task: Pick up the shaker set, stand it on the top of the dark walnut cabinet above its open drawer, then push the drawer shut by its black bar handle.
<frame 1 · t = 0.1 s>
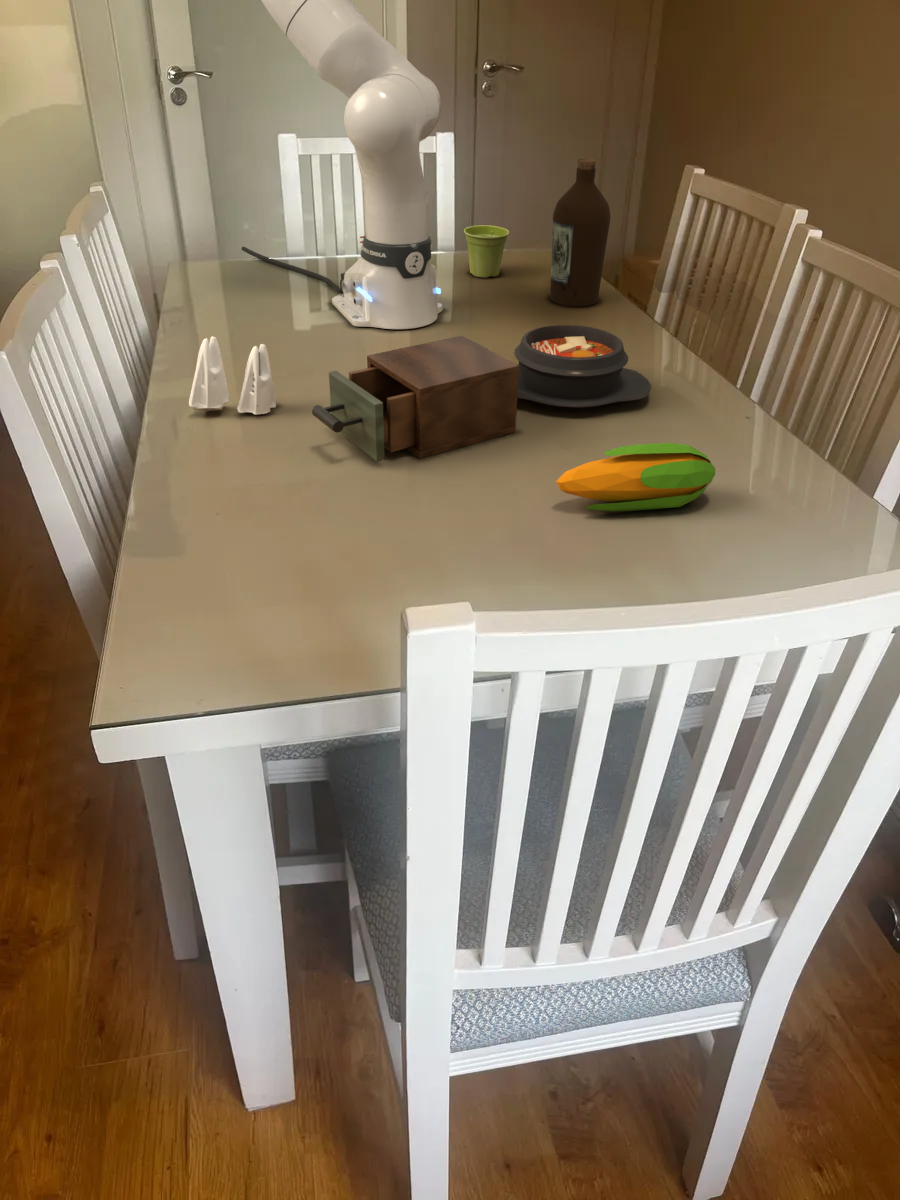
corn: (632, 505, 112), on the table
casserole: (567, 395, 140), on the table
plant pot: (484, 275, 192), on the table
cabinet: (441, 427, 130), on the table
drawer: (385, 408, 123), point 5 cm above the table, slide at 5.0 cm
olive oil: (573, 300, 179), on the table
shaker set: (234, 413, 133), on the table
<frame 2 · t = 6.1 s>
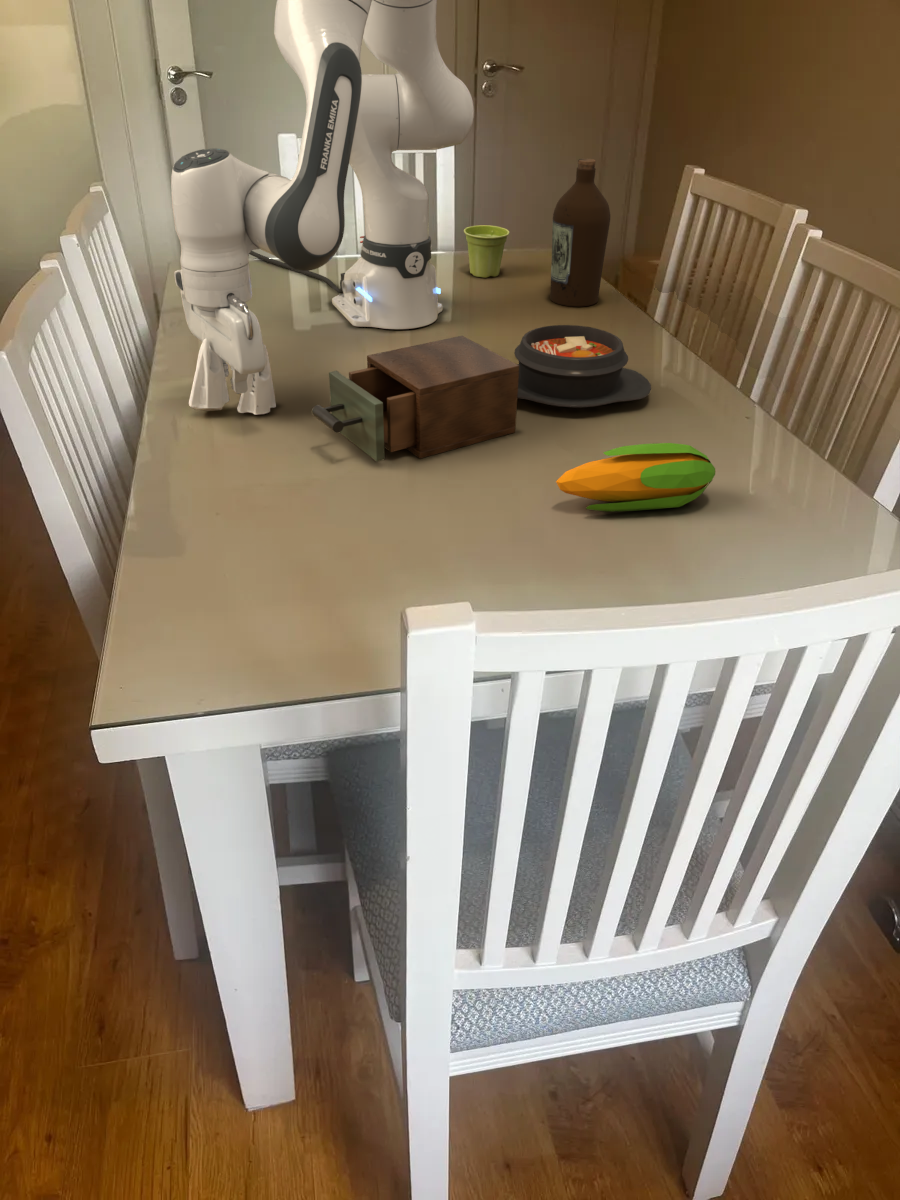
hand: (230, 383, 130), 4 cm above the table, tool pointing down, fingers closed on shaker set, 5 cm apart
shaker set: (234, 413, 133), on the table, touching gripper
everything else where it was.
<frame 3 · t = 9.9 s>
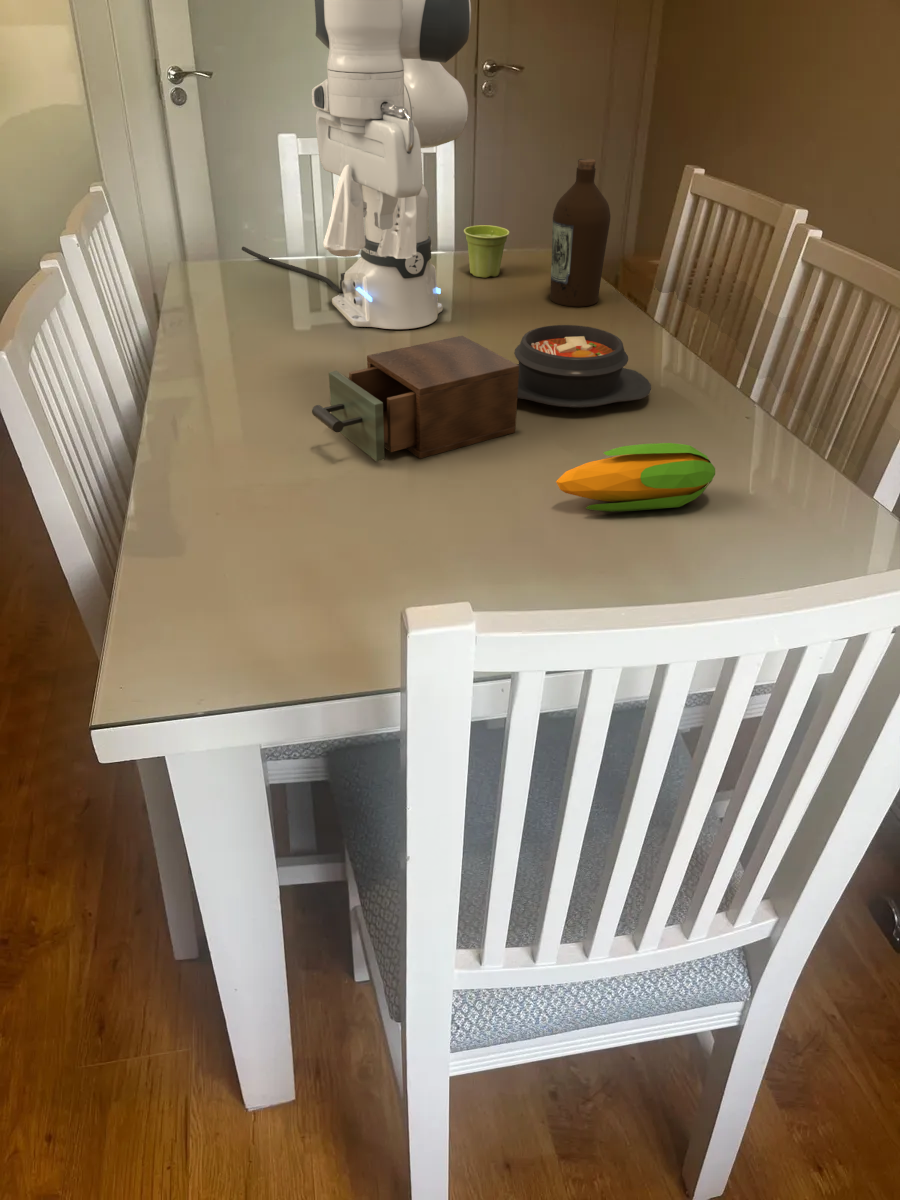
hand: (370, 222, 115), 27 cm above the table, tool pointing down, fingers closed on shaker set, 5 cm apart
shaker set: (371, 259, 117), point 23 cm above the table, touching gripper
everything else where it was.
when the fingers open (14 cm above the table, at t = 14.1 s): shaker set stays where it is, resting on cabinet.
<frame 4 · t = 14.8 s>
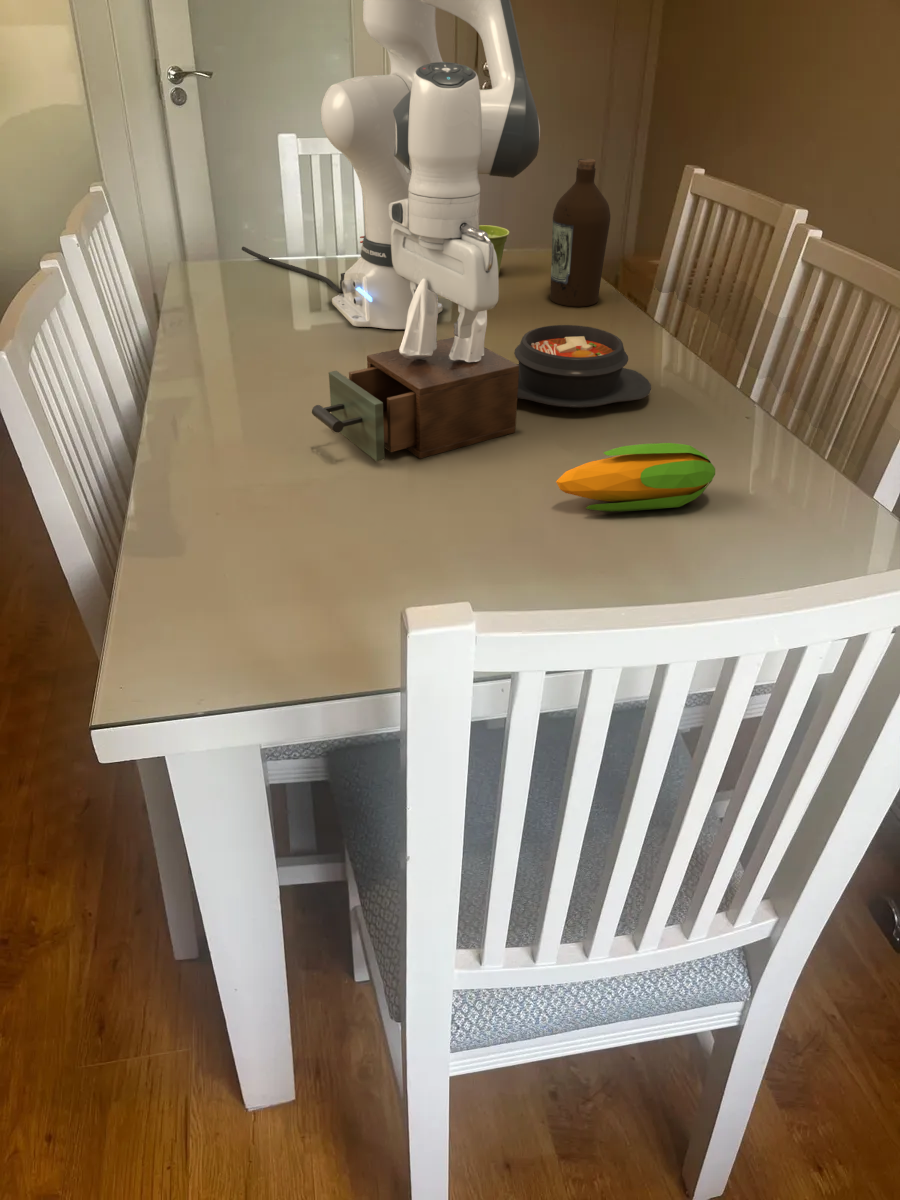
hand: (442, 326, 121), 14 cm above the table, tool pointing down, fingers open, 8 cm apart
shaker set: (442, 361, 124), point 10 cm above the table, touching cabinet
everything else where it was.
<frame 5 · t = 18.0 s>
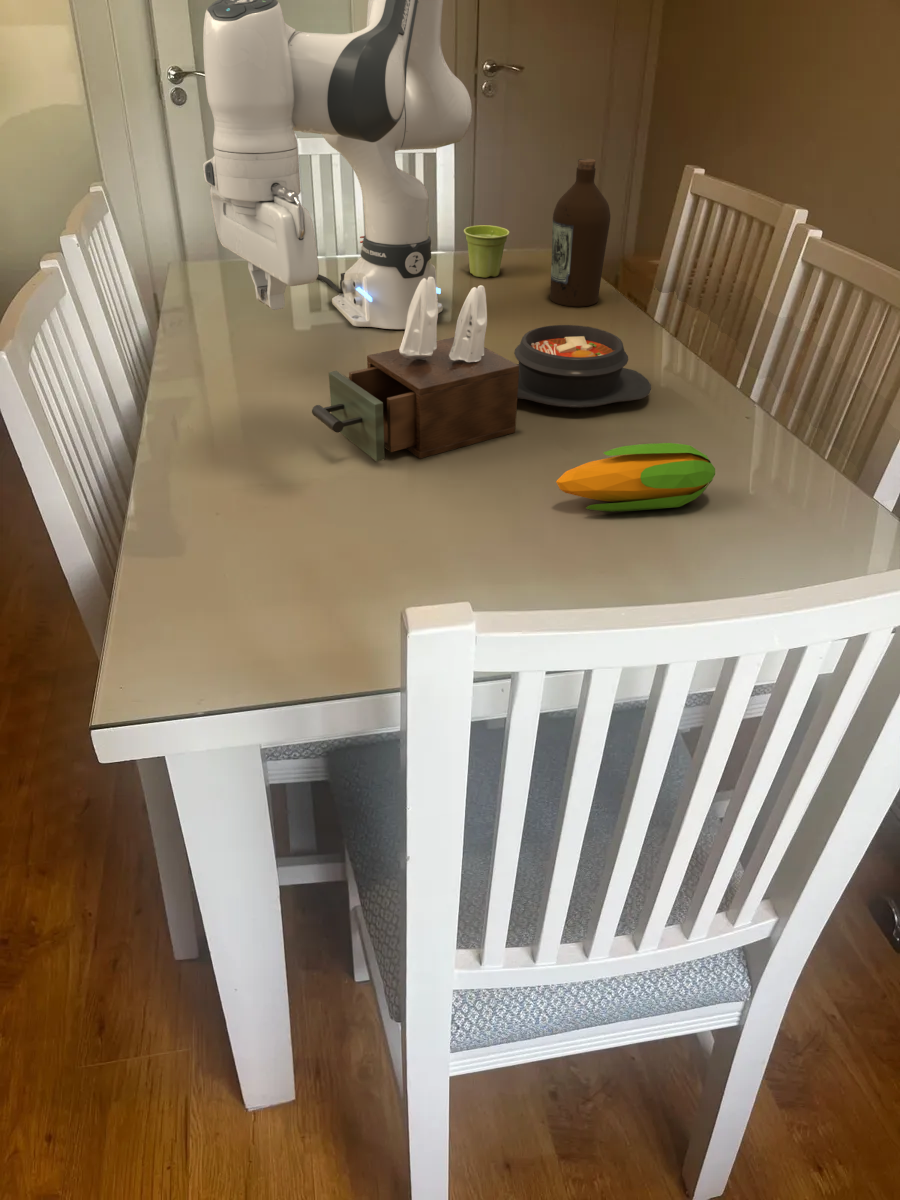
hand: (270, 304, 106), 21 cm above the table, tool pointing down, fingers closed
nothing on the table moved.
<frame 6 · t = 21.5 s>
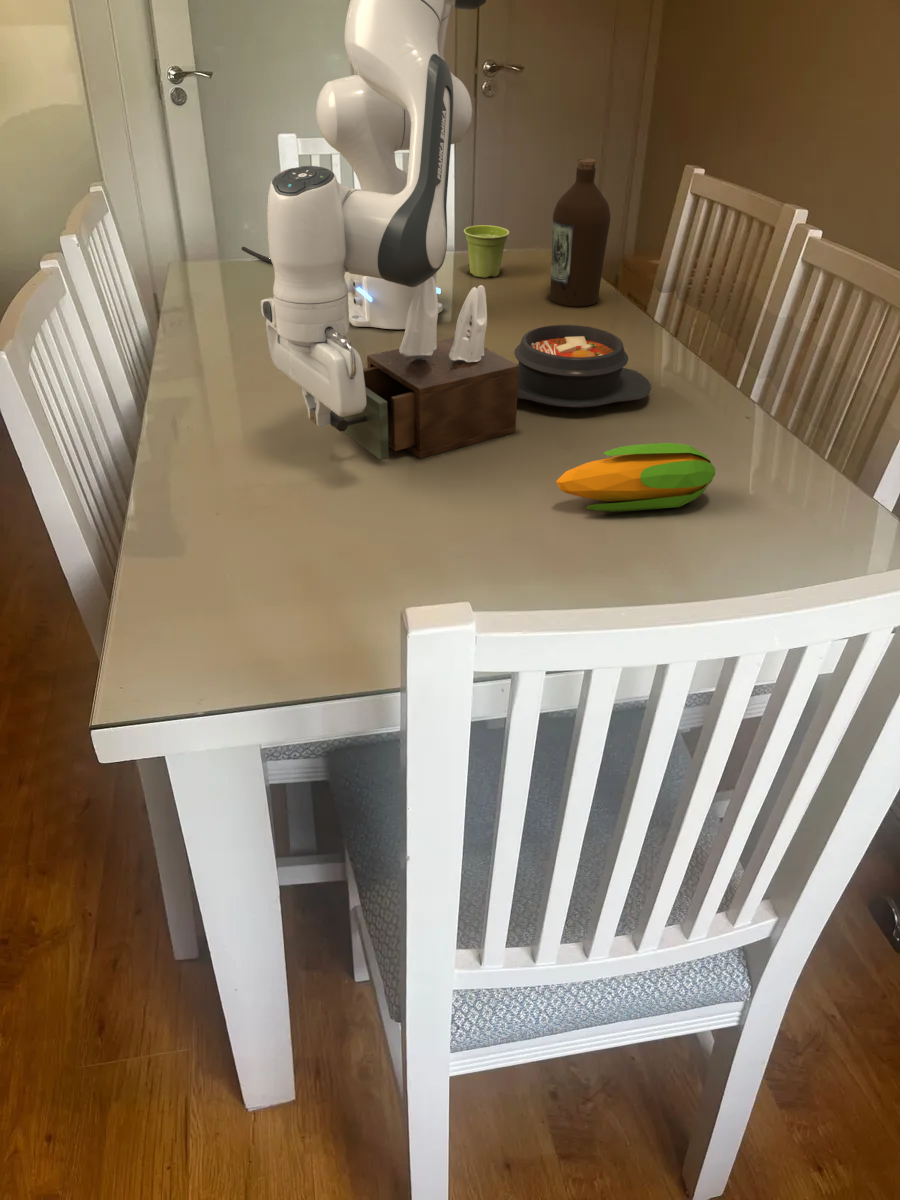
hand: (319, 422, 118), 5 cm above the table, tool pointing down, fingers closed
drawer: (389, 407, 123), point 5 cm above the table, slide at 4.4 cm, touching gripper
everything else where it was.
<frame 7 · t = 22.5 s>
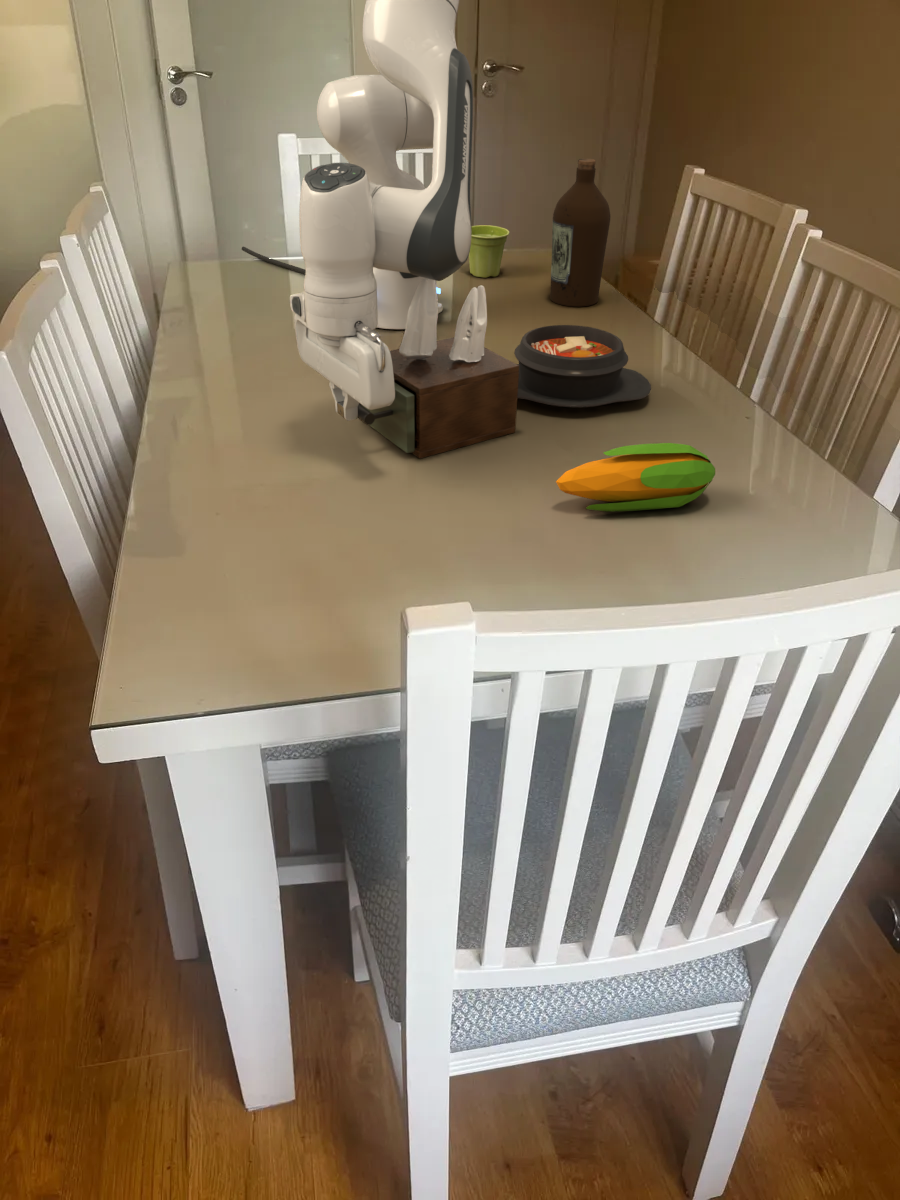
hand: (346, 416, 120), 5 cm above the table, tool pointing down, fingers closed, pressing on drawer
drawer: (414, 401, 125), point 5 cm above the table, slide at 0.4 cm, touching gripper
everything else where it was.
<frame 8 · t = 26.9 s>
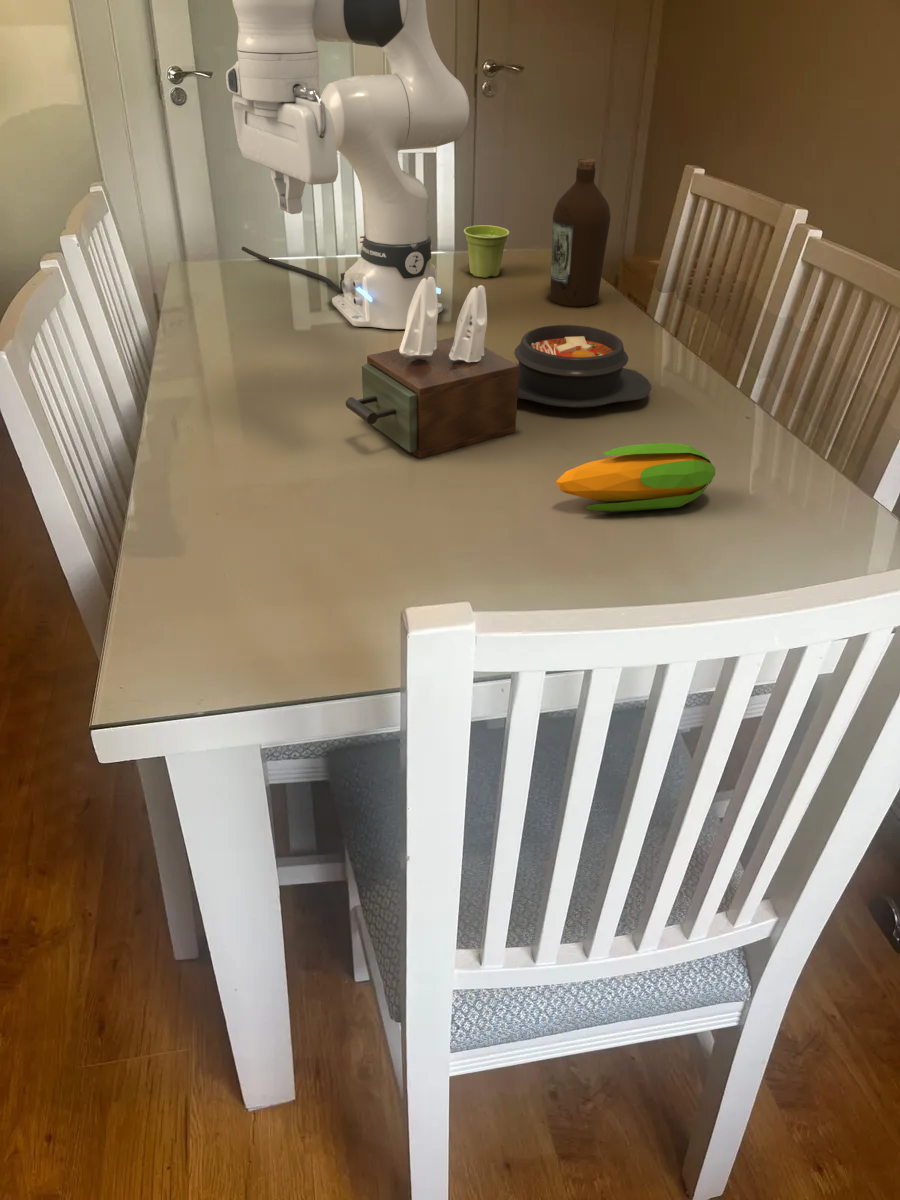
hand: (290, 211, 110), 29 cm above the table, tool pointing down, fingers closed
drawer: (417, 400, 125), point 5 cm above the table, slide at 0.0 cm, touching cabinet
everything else where it was.
at the end: shaker set inside the target area on the cabinet (0.0 cm from its centre), point 9.6 cm above the cabinet's base; shaker set tilted 0°; drawer slide at 0.0 cm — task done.
